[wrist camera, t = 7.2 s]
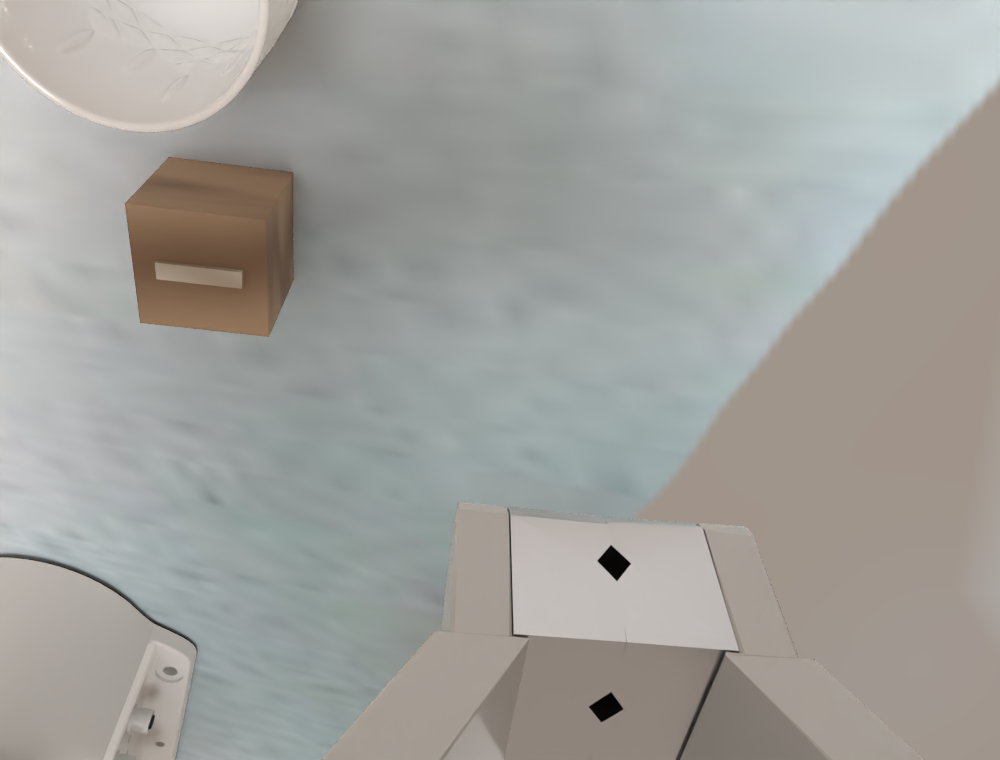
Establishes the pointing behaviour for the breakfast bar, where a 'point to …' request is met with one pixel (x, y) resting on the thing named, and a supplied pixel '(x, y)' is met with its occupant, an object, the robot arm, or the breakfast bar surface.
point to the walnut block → (212, 246)
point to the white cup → (140, 55)
